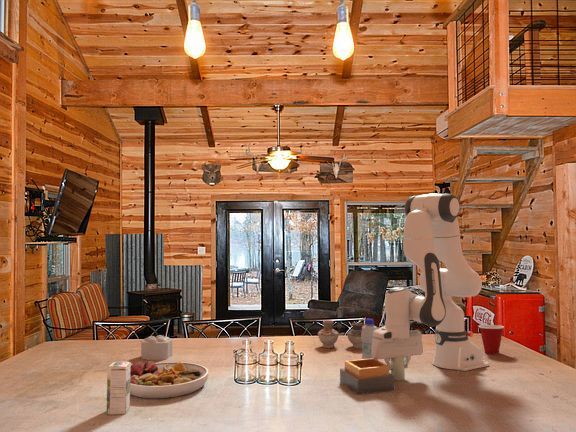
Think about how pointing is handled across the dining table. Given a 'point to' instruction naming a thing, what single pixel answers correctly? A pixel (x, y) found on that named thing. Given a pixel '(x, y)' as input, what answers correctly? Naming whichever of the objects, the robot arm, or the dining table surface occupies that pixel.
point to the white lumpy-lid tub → (156, 348)
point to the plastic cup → (491, 337)
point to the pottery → (330, 335)
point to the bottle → (367, 338)
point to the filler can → (398, 368)
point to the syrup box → (118, 388)
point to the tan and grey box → (366, 376)
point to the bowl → (166, 379)
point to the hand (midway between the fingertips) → (397, 368)
